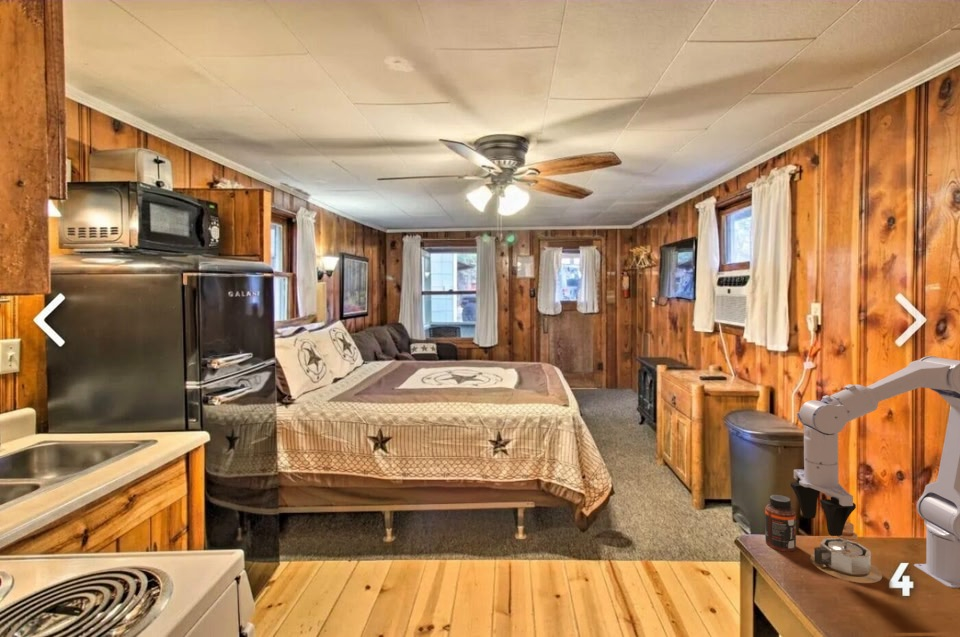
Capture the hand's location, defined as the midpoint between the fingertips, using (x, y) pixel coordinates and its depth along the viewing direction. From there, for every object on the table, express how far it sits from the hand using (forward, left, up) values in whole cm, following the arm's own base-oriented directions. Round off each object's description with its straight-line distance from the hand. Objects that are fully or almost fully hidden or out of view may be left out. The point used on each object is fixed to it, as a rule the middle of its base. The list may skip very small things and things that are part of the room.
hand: (821, 526), depth 98 cm
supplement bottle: (+2, -11, -10) cm, 15 cm away
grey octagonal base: (-6, -2, -10) cm, 12 cm away
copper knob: (-6, -2, -6) cm, 9 cm away
